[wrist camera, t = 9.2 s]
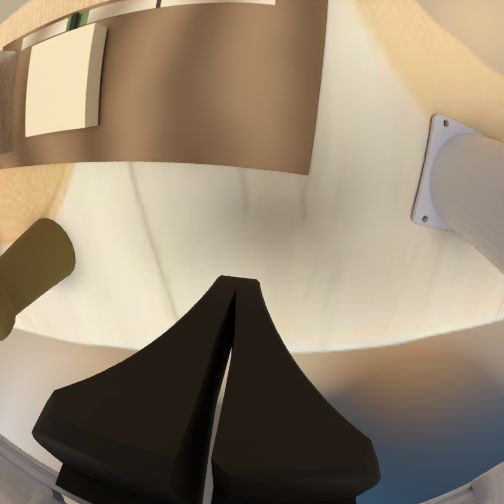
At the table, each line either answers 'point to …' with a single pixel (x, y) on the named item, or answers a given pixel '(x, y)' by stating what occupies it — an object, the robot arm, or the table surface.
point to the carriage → (65, 80)
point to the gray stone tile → (7, 98)
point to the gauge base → (190, 85)
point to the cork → (32, 269)
